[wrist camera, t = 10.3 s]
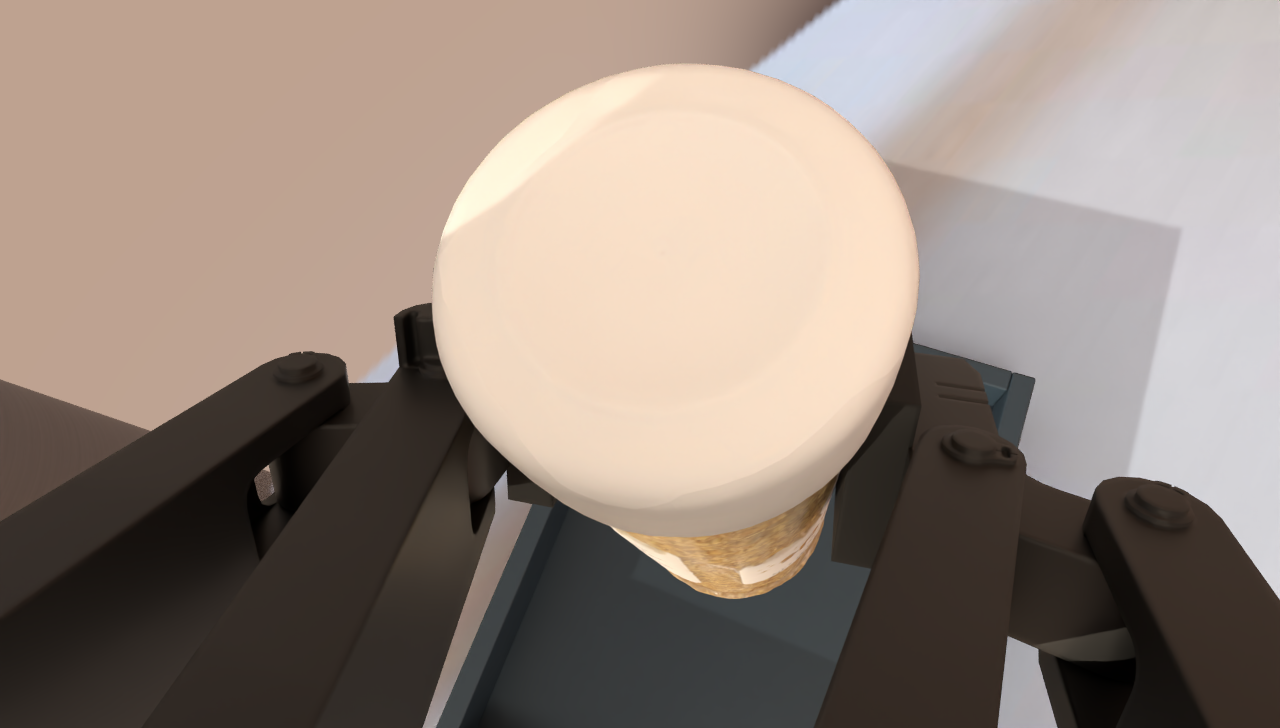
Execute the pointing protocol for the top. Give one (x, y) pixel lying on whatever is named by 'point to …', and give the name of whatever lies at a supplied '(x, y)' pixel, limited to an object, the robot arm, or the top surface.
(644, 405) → the sprinkles bottle
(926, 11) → the top surface
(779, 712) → the tray
